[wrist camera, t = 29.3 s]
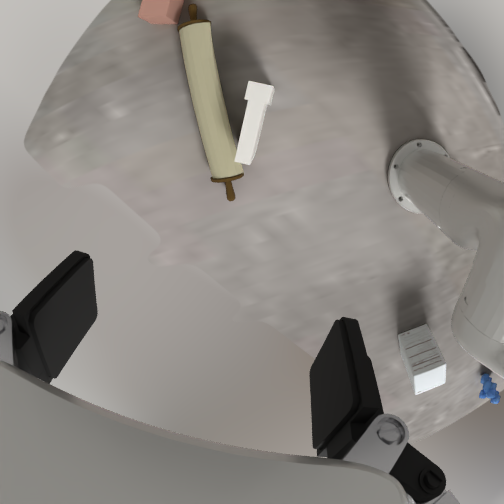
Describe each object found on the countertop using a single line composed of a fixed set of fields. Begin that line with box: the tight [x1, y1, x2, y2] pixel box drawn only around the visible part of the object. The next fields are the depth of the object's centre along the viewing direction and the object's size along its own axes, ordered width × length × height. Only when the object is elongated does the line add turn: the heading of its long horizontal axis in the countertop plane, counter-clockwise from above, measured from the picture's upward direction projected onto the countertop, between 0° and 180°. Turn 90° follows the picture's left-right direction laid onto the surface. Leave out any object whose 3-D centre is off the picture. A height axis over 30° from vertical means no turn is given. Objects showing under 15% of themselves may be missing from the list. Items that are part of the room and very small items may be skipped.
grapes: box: [479, 374, 500, 404], centre depth 60 cm, size 12×7×12 cm, turn 51°
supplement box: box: [398, 324, 446, 395], centre depth 54 cm, size 7×7×13 cm
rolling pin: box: [178, 4, 244, 201], centre depth 39 cm, size 32×6×5 cm, turn 10°
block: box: [138, 0, 184, 24], centre depth 32 cm, size 4×6×6 cm
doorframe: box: [234, 81, 274, 165], centre depth 33 cm, size 5×33×9 cm, turn 167°
